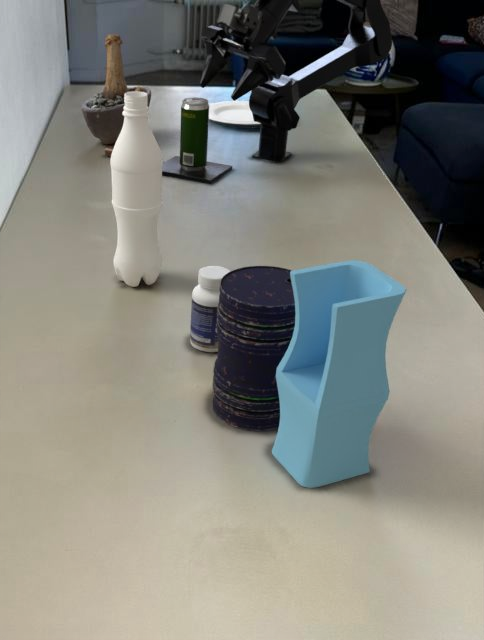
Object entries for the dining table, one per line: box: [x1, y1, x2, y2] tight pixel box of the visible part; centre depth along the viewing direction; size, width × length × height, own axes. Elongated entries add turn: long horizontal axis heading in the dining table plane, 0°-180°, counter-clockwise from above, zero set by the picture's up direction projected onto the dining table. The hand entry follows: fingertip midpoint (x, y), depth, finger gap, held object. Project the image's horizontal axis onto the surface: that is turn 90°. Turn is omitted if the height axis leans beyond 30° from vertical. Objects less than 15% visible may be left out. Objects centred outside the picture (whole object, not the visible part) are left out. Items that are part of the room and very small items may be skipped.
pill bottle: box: [189, 265, 231, 353], centre depth 96 cm, size 5×5×10 cm
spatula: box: [104, 145, 233, 185], centre depth 154 cm, size 26×10×2 cm, turn 61°
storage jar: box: [211, 265, 296, 432], centre depth 83 cm, size 10×10×15 cm
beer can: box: [179, 96, 210, 171], centre depth 148 cm, size 5×5×12 cm
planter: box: [81, 33, 152, 146], centre depth 161 cm, size 15×17×20 cm
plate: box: [208, 100, 261, 129], centre depth 180 cm, size 21×21×2 cm
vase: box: [271, 259, 407, 489], centre depth 74 cm, size 8×8×20 cm
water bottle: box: [109, 91, 164, 288], centre depth 106 cm, size 7×7×25 cm
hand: (216, 92), depth 144 cm, fingers open, 9 cm apart
